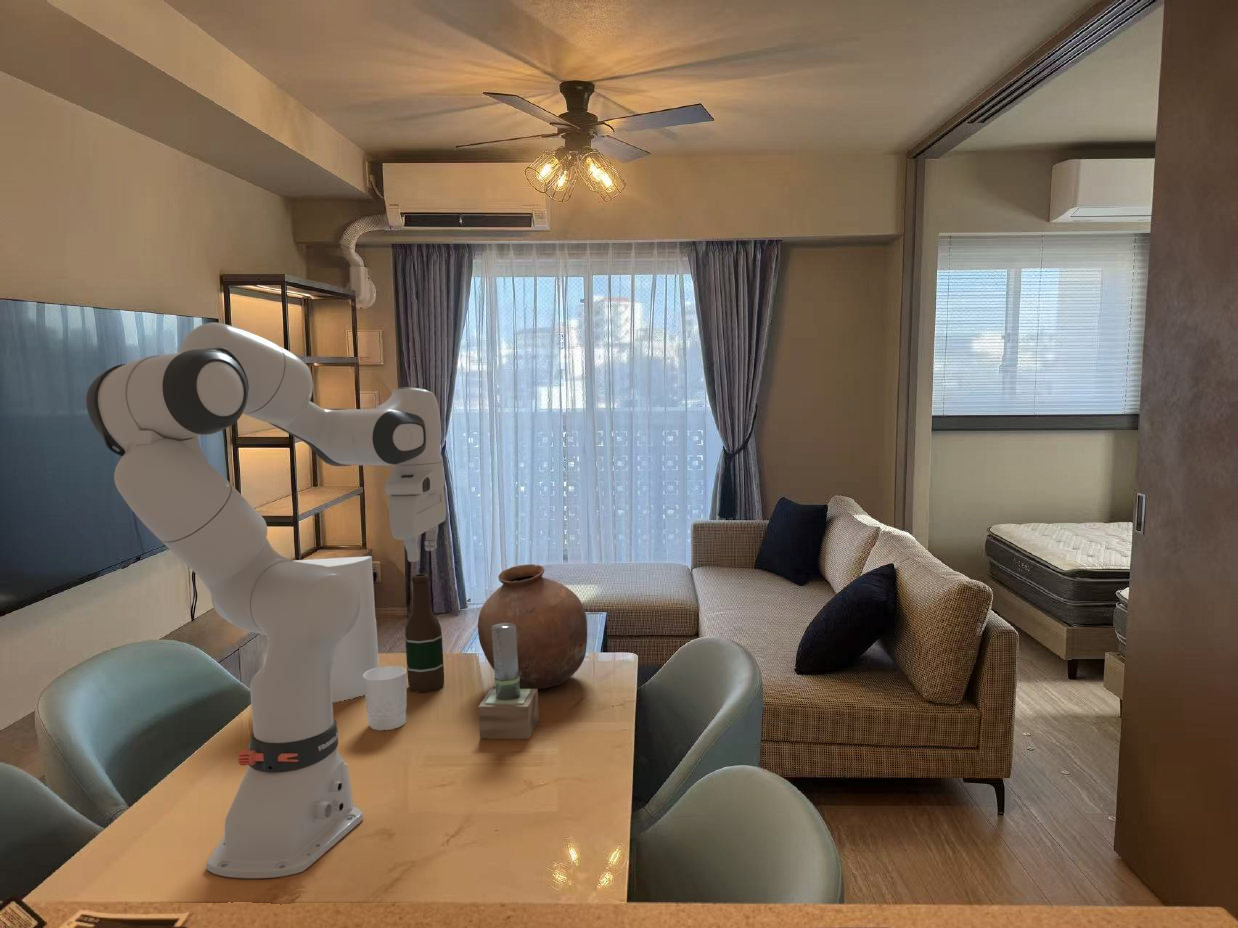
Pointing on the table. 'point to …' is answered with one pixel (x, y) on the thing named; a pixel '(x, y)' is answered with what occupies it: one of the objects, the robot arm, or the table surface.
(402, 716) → the white cup
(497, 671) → the grey cylindrical bottle
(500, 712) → the stand block
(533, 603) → the pottery
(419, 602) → the beer bottle
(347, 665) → the cylinder
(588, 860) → the table surface
